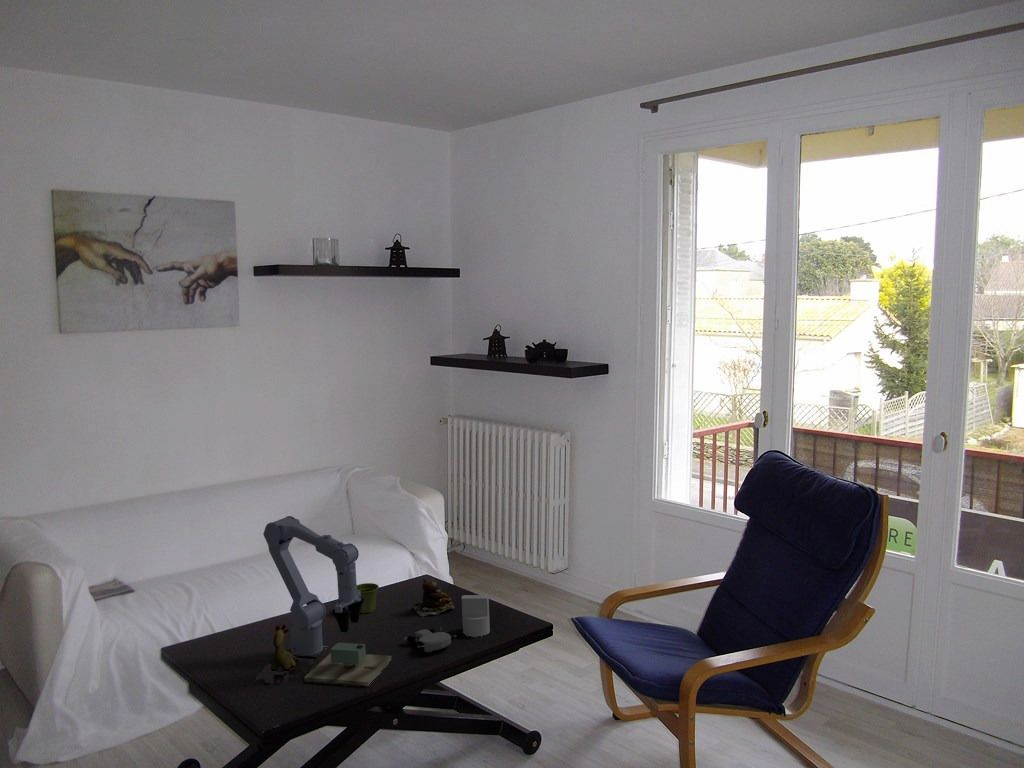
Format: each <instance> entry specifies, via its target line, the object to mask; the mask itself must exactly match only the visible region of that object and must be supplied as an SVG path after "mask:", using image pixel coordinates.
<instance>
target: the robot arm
mask: <svg viewBox="0 0 1024 768" xmlns="http://www.w3.org/2000/svg"><path fill="white" fill-rule="evenodd" d="M262 535H263V537H264V539H265V541H266V543H267V546H268V552H269V554H270V556H271V558H272V560H273V562H274V564H275V567H276V568H277V571H278V572H279V574H280V576H281V578H282V580H283V583H284V585H285V586H286V589H287V591H288V593H289V595H290V597H291V600H292V603H291V606H290V610H289V611H290V613H291V617H292V622H293V624H294V625H293V626H292V628H291V630H290V637H289V638H290V653H291V652H292V653H300V654H304V655H313V654H317V653H319V652H321V651H322V650H323V647H328V648H329V646H327V645H323V644H324V643H323V628H322V627H323V625H322V623H323V620H324V618H325V617H326V615H327V614H326V613H327V610H326V609H327V608H326V606H325V605H324V603H323V602H322V601H321V600H320V599H319V597H318V595H316V594H314V593H313V592H310V591H309V590H308V587H307V584H306V583H305V581H304V579H303V577H302V575H301V573H300V570H299V568H298V565H297V564H296V563H295V560H294V558H293V557H292V554H291V552H290V550H289V546H290V544H291V542H292V540H293V539H294V538H296V539H298V540H301V541H303V542H305V543H307V544H310V545H312V546H314V548H315V550H316V552H317V553H319V554H322V555H323V556H324V557H327V558H329V559H331V561H332V563H333V565H334V566H335V571H336V576H337V577H336V579H337V580H336V581H337V595H338V596H337V597H338V598H337V602H336V605H335V606H334V609H333V610H332V615H333V617H334V618H335V619H336V622H337V625H338V627H339V630H340V633H348V632H349V627H350V625H349V624H350V622H351V623H353V624H354V623H355V624H357V623H359V620H360V616H361V613H360V610H361V606H362V604H363V602H364V599H363V598H359V597H360V596H361V592H360V590H357V585H358V584H357V567H356V561H357V560H358V559H359V557H360V556H359V555H360V553H359V550H358V547H356V545H354V544H353V543H352V542H351V543H344V542H343V541H339V540H337V539H336V538H333V536H332V535H331V534H323V535H320V534H318V533H316V532H315V531H313V530H312V529H310V528H308V527H307V526H305V525H303V524H302V523H301V521H300V519H298V518H295V517H294V516H292V515H288V516H285V517H283V518H280V519H278V520H275V521H273V522H269V523H267V524H266V526H265V527H264V531H263V534H262ZM346 608H347V609H348V610H347V609H346ZM295 649H296V650H295ZM325 649H326V648H325ZM326 650H327V649H326ZM319 654H320V653H319Z"/></svg>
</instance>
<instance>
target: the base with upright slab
mask: <svg viewBox="0 0 1024 768" xmlns="http://www.w3.org/2000/svg"><path fill="white" fill-rule="evenodd" d="M489 597H490V596H489V595H488V594H487V595H486V594H485V595H483V594H482V595H481V594H479V595H477V594H473V595H471V594H470V595H469V594H466V595H465V594H464V595H462V596H461V614H462V619H461V620H462V633H464V634H465V636H467V637H469V636H471V637H470V638H479V637H478V636H481V637H483V635H485V636H487V635H488V634H489V633H491V630H490V628H491V626H490V602H489V601H490V600H489V599H490V598H489ZM464 634H463V635H464ZM486 634H487V635H486Z"/></svg>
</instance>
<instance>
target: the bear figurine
mask: <svg viewBox="0 0 1024 768" xmlns="http://www.w3.org/2000/svg"><path fill="white" fill-rule="evenodd" d="M422 582H423V584H422V586H421V587H422V590H423V592H422V602H419V601H417V602H415V603H414V606H412V608H413V609H414V611H415V612H416V613H417V615H419V617H421V616H423V617H425V616H429V615H434V616H438V615H440V613H443V612H445V611H446V610H447V611H448V610H450V609H451V610H452V609H455V606H454V603H453V602H452V597H451V596H449V594H447V593H445V592H442V589H438V586H439V584H438V583H437V582H436V581H430V580H426V578H423V580H422ZM416 609H417V610H416Z"/></svg>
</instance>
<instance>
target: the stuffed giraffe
mask: <svg viewBox="0 0 1024 768" xmlns="http://www.w3.org/2000/svg"><path fill="white" fill-rule="evenodd" d="M289 630H290V629H289V628H288V627H287V624H286V623H284V624H283V625H282V626H280V625H279V624H276V626H275V628H274V631H275V634H274V636H273V647H274V648H275V649H274V654H273V659H272V660H273V662H271V663H272V665H271V670H272V671H277V672H284V671H289V670H290V669H291V668H294V667H295V668H296V662H295V661H296V658H297V657H296V656H293V655H292V653H291V652H289V651H288V650H285V649H284V640H285V634H287V633H288V632H289ZM293 658H294V659H293Z"/></svg>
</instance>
